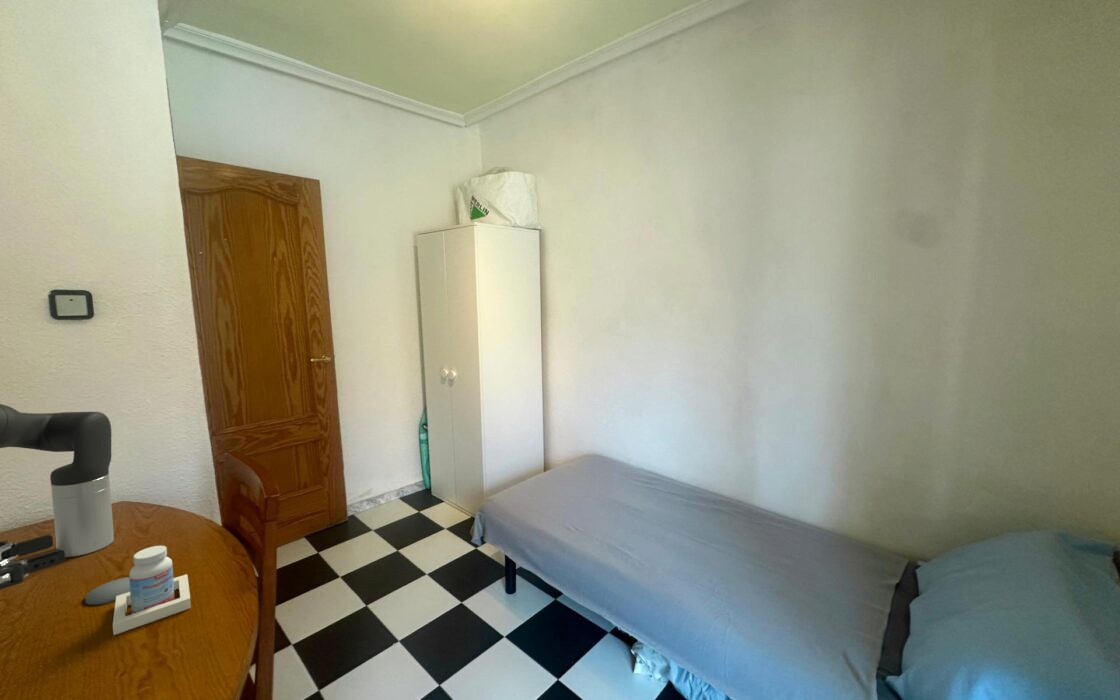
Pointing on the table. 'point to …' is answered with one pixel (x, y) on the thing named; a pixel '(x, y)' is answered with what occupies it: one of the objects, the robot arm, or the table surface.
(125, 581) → the coaster
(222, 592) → the table surface
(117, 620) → the holder
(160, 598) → the pill bottle
